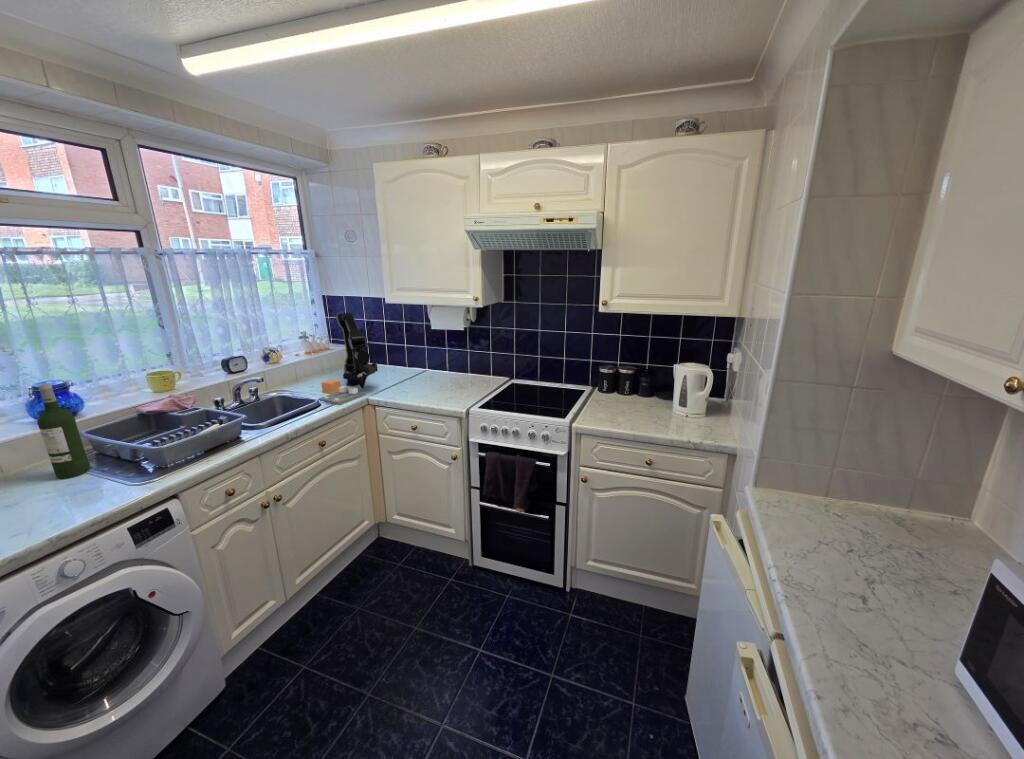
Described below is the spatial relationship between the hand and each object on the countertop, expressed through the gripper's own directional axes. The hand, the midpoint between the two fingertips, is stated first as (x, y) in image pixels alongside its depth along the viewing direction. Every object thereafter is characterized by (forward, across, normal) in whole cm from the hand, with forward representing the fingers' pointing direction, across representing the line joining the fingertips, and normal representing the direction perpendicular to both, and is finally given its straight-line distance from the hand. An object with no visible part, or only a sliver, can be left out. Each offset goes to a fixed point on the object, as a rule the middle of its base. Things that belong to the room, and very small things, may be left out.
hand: (362, 388), depth 213 cm
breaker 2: (+1, -6, 0) cm, 7 cm away
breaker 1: (+1, -6, +6) cm, 9 cm away
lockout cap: (+3, -4, +18) cm, 18 cm away
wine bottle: (+3, -102, +26) cm, 106 cm away
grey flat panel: (+3, -10, +4) cm, 11 cm away
